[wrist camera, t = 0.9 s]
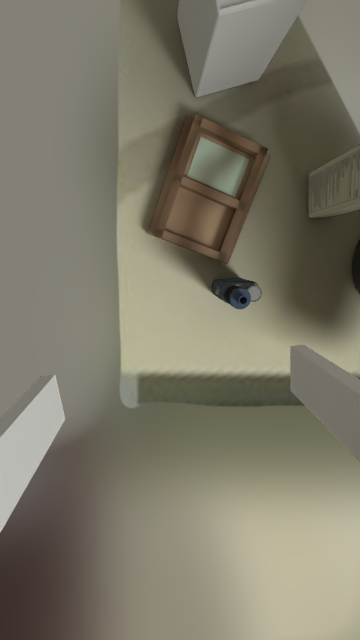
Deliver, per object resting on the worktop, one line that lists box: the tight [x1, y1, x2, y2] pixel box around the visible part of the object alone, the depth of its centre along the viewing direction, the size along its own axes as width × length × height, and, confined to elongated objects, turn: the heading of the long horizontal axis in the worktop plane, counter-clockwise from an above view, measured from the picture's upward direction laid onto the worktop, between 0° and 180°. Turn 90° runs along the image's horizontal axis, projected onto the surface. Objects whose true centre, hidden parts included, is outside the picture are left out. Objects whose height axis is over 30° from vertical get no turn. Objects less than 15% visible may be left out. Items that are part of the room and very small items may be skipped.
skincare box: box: [308, 145, 360, 218], centre depth 34 cm, size 6×4×12 cm
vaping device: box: [212, 278, 262, 309], centre depth 36 cm, size 3×5×12 cm, turn 92°
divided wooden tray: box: [148, 114, 270, 264], centre depth 37 cm, size 12×15×3 cm
